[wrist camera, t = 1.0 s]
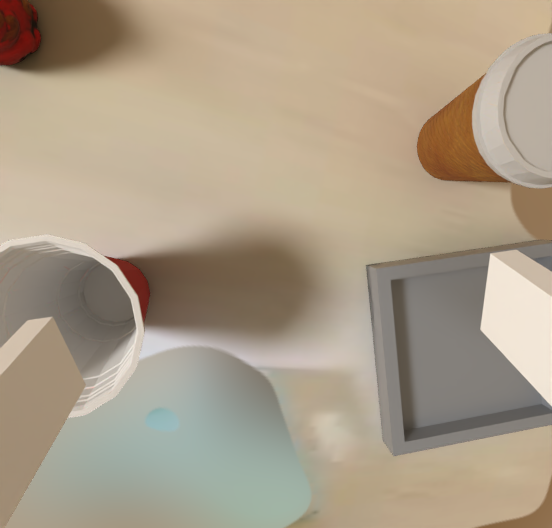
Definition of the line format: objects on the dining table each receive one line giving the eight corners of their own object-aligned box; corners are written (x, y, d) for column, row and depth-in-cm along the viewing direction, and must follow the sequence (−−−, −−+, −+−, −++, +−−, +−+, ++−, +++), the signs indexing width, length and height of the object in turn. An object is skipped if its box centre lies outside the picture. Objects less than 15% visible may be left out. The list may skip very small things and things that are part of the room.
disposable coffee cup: (399, 198, 34) (486, 187, 22) (400, 91, 33) (494, 20, 21) (493, 197, 35) (625, 185, 23) (498, 93, 34) (640, 25, 22)
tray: (546, 408, 39) (567, 421, 36) (382, 440, 37) (393, 456, 34) (541, 239, 36) (563, 241, 34) (366, 265, 35) (376, 268, 32)
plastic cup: (77, 207, 31) (-20, 200, 19) (196, 259, 33) (174, 282, 21) (29, 322, 32) (-93, 383, 20) (147, 367, 33) (100, 449, 22)
